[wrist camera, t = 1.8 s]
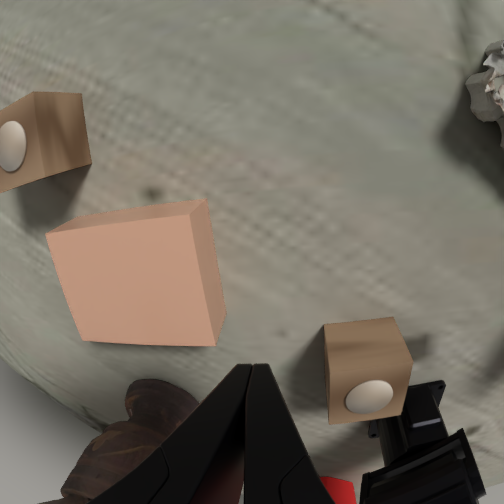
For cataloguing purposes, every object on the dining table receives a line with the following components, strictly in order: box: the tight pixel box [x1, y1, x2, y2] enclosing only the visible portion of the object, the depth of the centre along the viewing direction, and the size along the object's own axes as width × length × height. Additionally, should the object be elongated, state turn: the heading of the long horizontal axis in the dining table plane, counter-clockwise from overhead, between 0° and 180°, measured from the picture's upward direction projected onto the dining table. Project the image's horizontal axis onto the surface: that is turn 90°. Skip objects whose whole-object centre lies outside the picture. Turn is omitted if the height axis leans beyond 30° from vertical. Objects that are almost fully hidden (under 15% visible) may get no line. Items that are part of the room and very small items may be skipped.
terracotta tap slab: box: [45, 198, 227, 346], centre depth 20 cm, size 8×10×4 cm
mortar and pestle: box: [39, 379, 199, 504], centre depth 17 cm, size 12×9×20 cm
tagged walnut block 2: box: [324, 317, 413, 425], centre depth 20 cm, size 5×5×5 cm
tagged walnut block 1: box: [0, 92, 92, 193], centre depth 16 cm, size 5×5×5 cm
